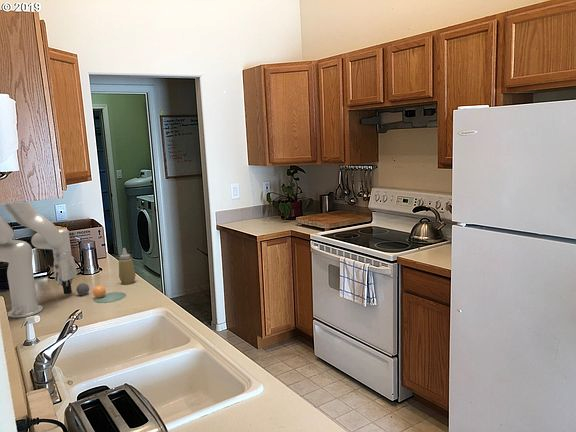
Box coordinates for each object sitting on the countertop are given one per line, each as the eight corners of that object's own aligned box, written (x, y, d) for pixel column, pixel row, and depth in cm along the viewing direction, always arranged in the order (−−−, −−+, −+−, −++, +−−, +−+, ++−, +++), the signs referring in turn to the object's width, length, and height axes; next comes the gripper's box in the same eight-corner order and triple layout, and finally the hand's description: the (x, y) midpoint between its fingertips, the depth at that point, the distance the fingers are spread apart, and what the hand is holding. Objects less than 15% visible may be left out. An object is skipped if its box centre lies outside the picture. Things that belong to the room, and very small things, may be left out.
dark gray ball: (74, 283, 221) (74, 294, 219) (85, 280, 221) (85, 291, 219) (80, 286, 226) (80, 297, 224) (91, 284, 226) (91, 294, 224)
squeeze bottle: (122, 286, 233) (117, 250, 230) (117, 282, 239) (113, 248, 236) (138, 282, 237) (134, 248, 234) (133, 279, 244) (130, 245, 241)
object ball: (88, 295, 216) (98, 302, 215) (91, 287, 213) (101, 293, 213) (97, 289, 221) (106, 296, 220) (100, 281, 218) (109, 287, 217)
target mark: (118, 302, 209) (118, 301, 209) (88, 303, 210) (87, 303, 210) (130, 292, 223) (130, 291, 223) (101, 293, 223) (101, 292, 223)
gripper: (58, 259, 210) (64, 299, 213) (80, 251, 224) (85, 288, 227) (44, 259, 212) (49, 298, 215) (66, 251, 226) (71, 288, 229)
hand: (67, 293), depth 221 cm, fingers closed
